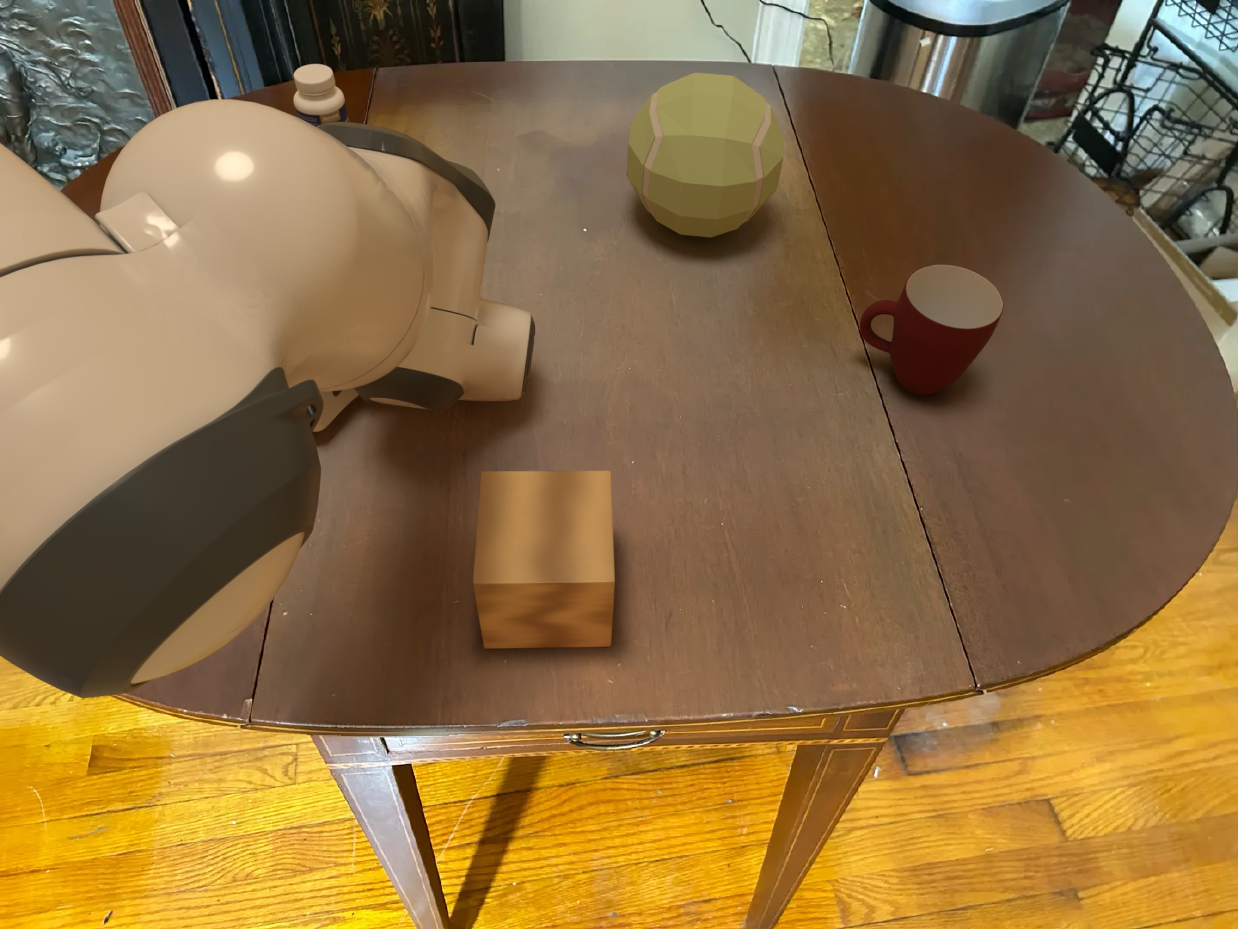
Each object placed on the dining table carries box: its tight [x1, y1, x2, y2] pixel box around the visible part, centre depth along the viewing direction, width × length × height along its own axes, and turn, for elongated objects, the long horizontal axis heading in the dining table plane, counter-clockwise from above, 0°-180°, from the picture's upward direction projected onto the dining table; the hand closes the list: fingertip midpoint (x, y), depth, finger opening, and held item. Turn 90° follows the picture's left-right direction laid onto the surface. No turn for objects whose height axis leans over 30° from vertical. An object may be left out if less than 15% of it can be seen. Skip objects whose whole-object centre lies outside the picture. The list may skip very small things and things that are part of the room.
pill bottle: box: [293, 63, 350, 127], centre depth 98 cm, size 5×5×9 cm
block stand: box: [472, 470, 616, 649], centre depth 64 cm, size 9×9×9 cm
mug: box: [859, 263, 1005, 396], centre depth 79 cm, size 10×8×10 cm
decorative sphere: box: [626, 72, 785, 238], centre depth 90 cm, size 15×15×15 cm
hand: (187, 312), depth 77 cm, fingers open, 5 cm apart
